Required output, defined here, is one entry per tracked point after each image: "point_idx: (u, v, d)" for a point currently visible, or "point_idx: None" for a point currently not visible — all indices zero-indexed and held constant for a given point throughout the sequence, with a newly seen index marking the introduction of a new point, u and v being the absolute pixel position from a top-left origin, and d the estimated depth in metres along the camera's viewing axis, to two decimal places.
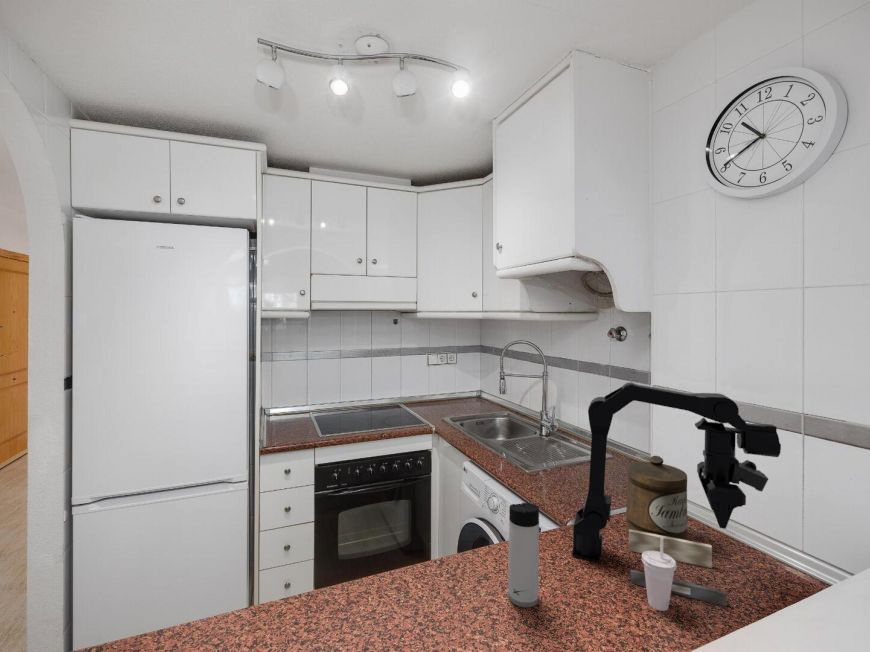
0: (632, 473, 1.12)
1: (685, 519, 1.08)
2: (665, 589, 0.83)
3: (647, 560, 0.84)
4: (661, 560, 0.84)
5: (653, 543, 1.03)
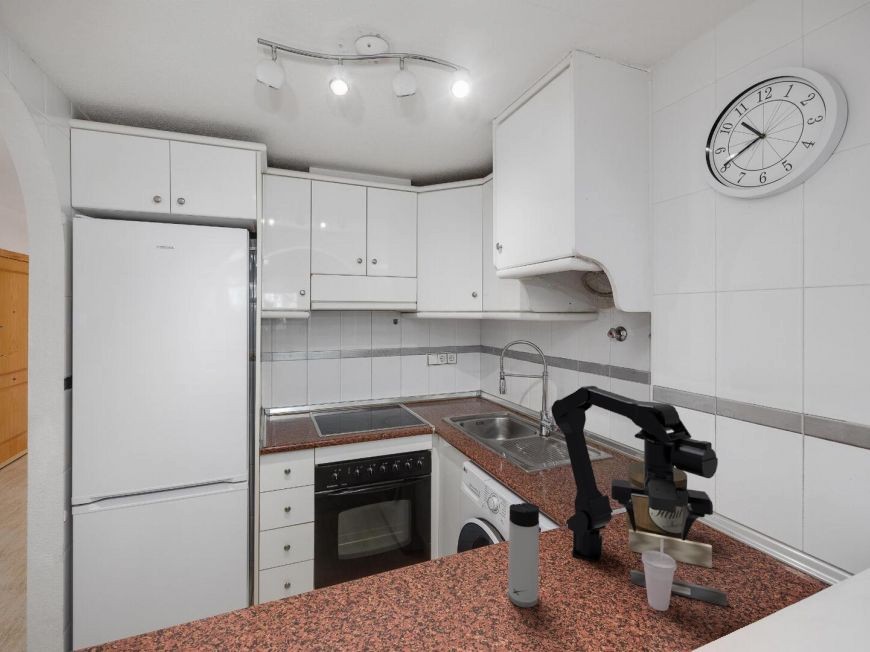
0: (632, 473, 1.12)
1: None
2: (665, 589, 0.83)
3: (647, 560, 0.84)
4: (661, 560, 0.84)
5: (653, 543, 1.03)
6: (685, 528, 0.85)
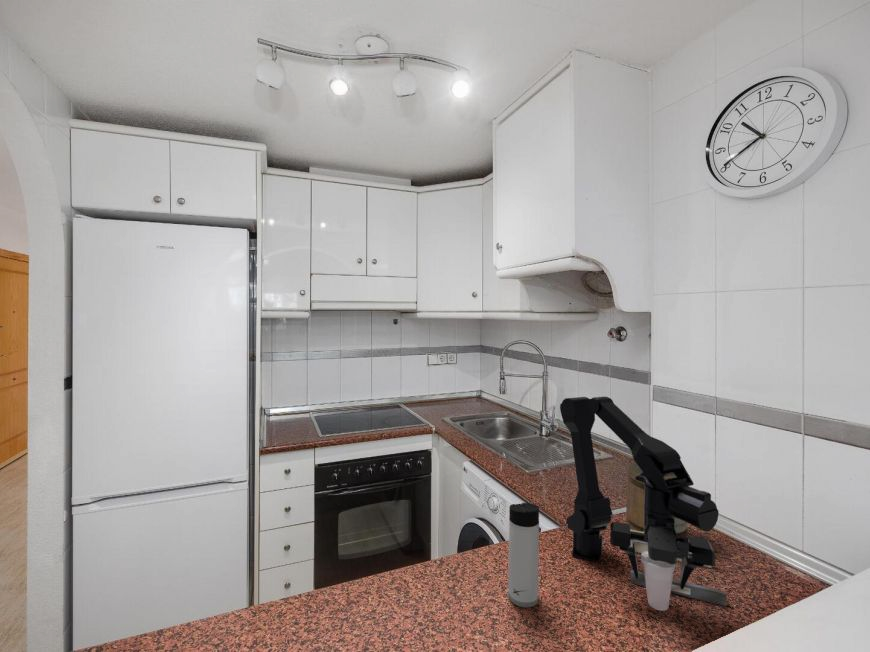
0: (632, 473, 1.12)
1: None
2: (665, 589, 0.83)
3: (646, 560, 0.84)
4: None
5: None
6: (683, 577, 0.82)
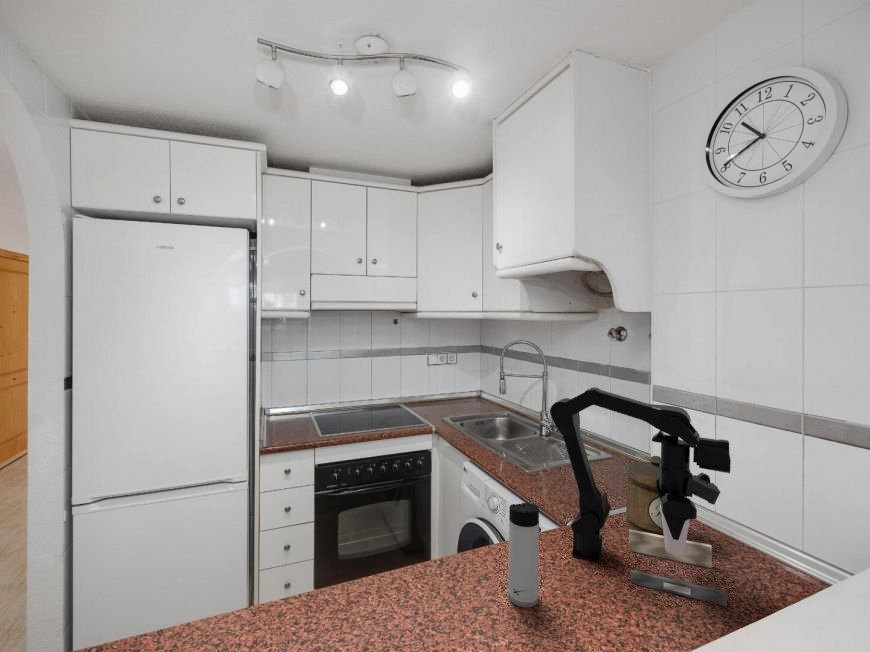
0: (632, 473, 1.12)
1: None
2: None
3: None
4: None
5: (653, 543, 1.03)
6: None
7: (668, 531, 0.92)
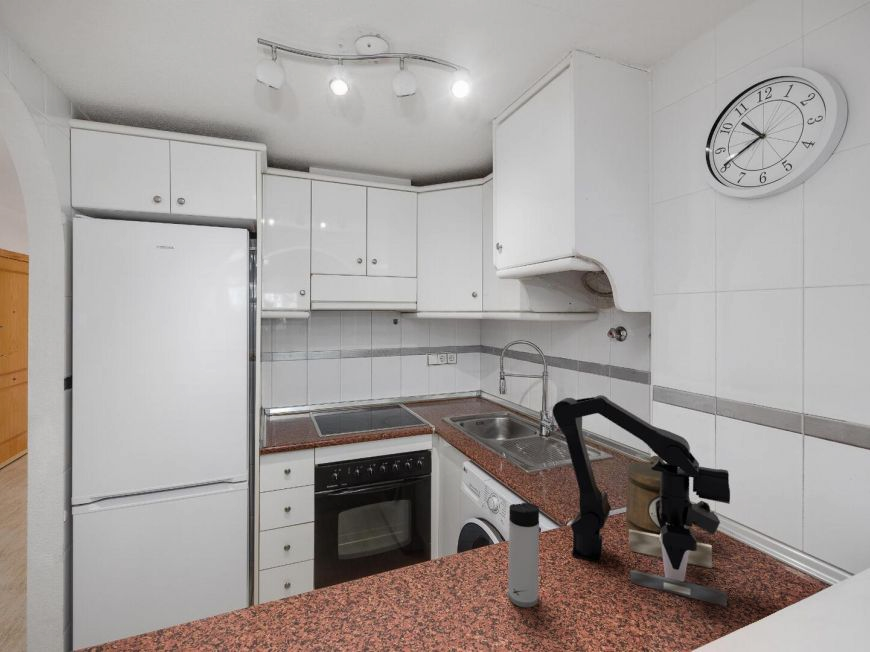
0: (632, 473, 1.12)
1: None
2: None
3: None
4: None
5: (653, 543, 1.03)
6: None
7: (668, 560, 0.92)
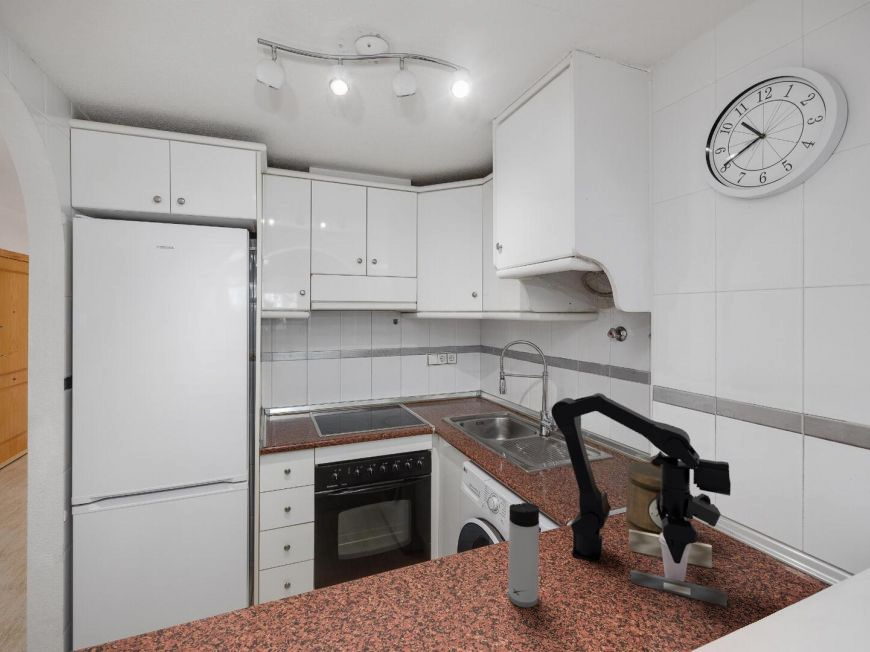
0: (632, 473, 1.12)
1: (685, 519, 1.08)
2: None
3: None
4: None
5: (653, 543, 1.03)
6: None
7: None
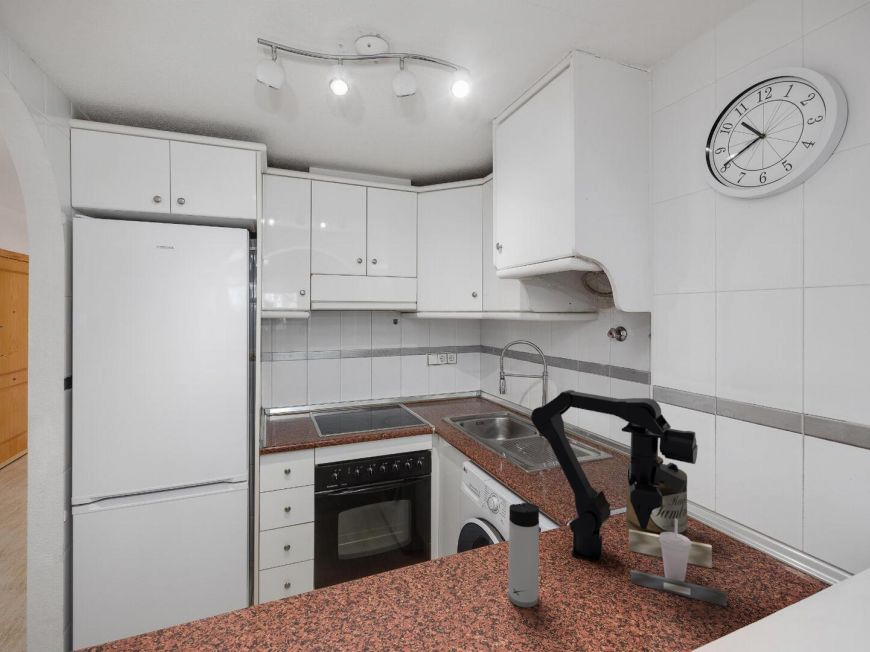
0: None
1: (685, 519, 1.08)
2: None
3: (676, 544, 0.91)
4: (679, 539, 0.93)
5: (653, 543, 1.03)
6: None
7: None
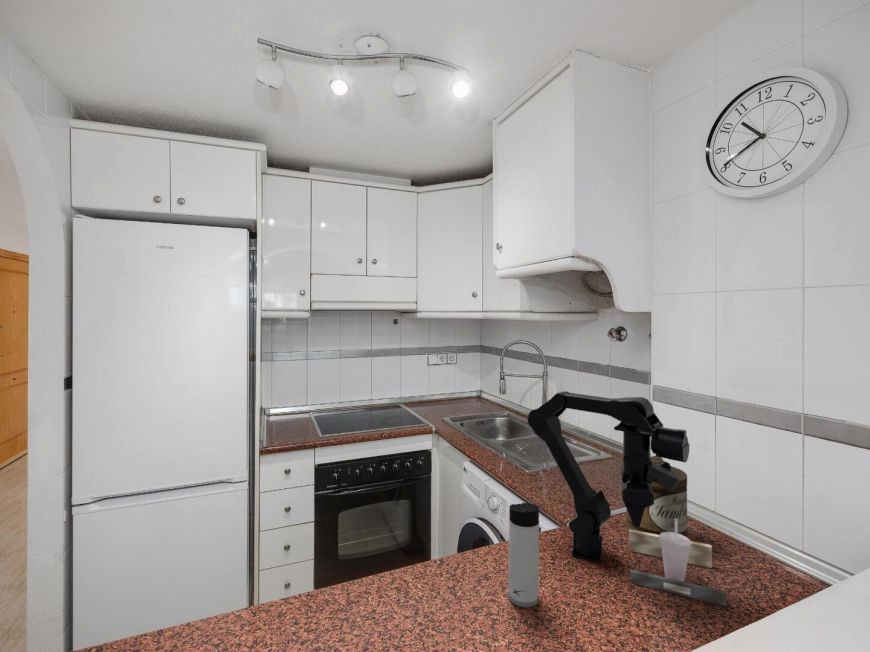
0: None
1: (685, 519, 1.08)
2: None
3: (676, 544, 0.91)
4: (679, 539, 0.93)
5: (653, 543, 1.03)
6: None
7: None
